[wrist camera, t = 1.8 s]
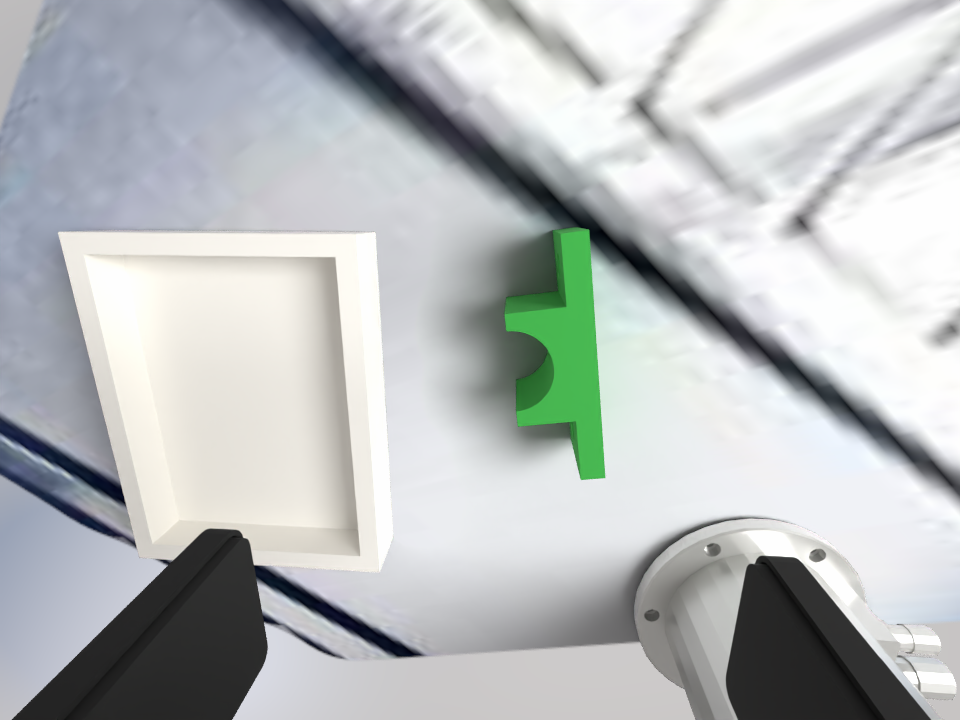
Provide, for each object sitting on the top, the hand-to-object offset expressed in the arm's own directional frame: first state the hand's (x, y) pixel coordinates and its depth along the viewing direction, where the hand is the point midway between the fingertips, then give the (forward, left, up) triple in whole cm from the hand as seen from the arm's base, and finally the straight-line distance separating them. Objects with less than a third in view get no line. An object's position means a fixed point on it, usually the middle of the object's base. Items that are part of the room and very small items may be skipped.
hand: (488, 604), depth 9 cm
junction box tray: (+14, +3, -17) cm, 22 cm away
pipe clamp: (-2, -1, -17) cm, 17 cm away
